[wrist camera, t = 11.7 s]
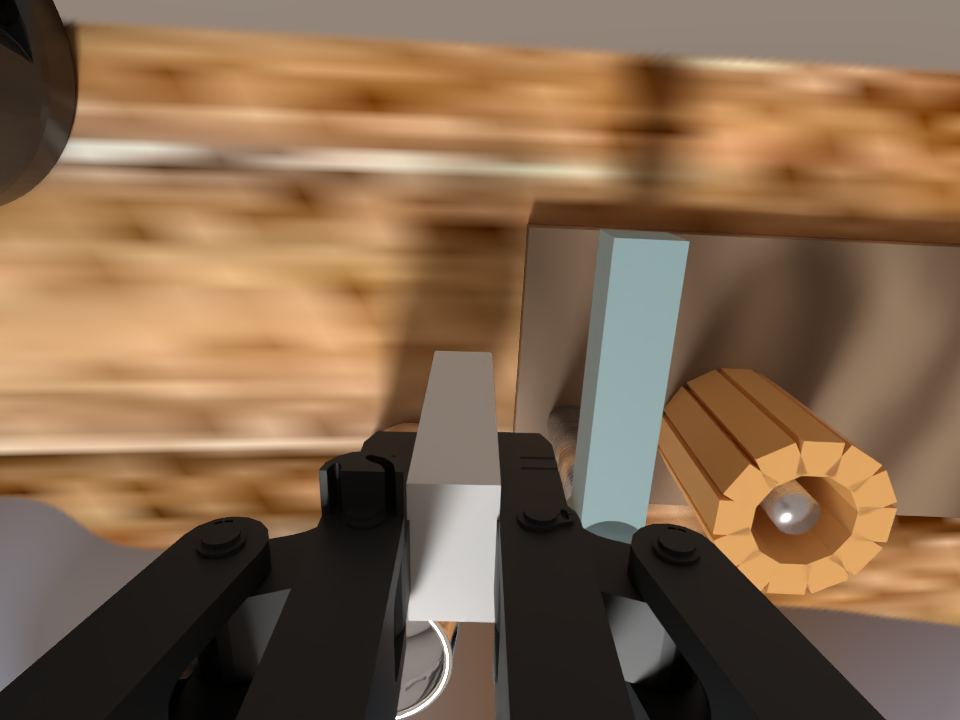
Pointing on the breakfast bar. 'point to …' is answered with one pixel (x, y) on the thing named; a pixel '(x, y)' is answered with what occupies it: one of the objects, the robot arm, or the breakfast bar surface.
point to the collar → (773, 480)
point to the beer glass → (424, 651)
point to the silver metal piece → (782, 504)
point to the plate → (780, 341)
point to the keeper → (626, 378)
